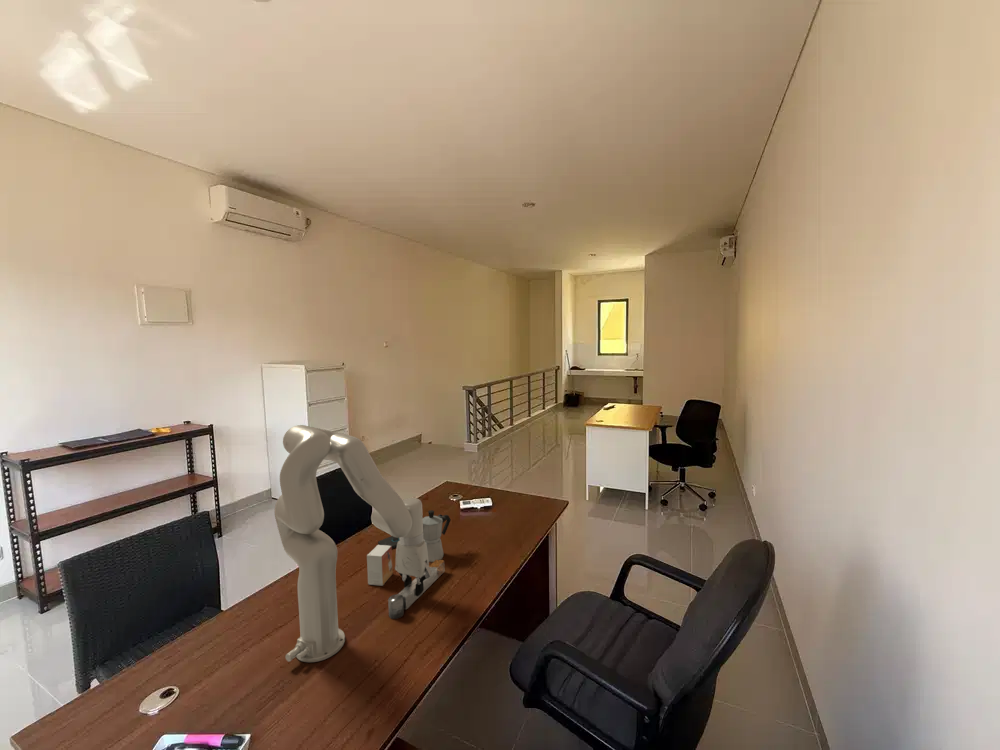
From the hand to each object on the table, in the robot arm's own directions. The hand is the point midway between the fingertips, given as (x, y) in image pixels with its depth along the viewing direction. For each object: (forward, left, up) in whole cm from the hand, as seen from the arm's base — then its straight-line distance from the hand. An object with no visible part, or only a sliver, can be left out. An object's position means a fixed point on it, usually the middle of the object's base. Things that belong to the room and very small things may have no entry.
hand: (414, 591), depth 140 cm
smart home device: (+33, +28, -2) cm, 43 cm away
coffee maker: (+25, +8, -2) cm, 27 cm away
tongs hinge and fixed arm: (+2, 0, -2) cm, 3 cm away
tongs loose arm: (+5, -1, -1) cm, 5 cm away
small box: (+4, +17, -2) cm, 18 cm away
